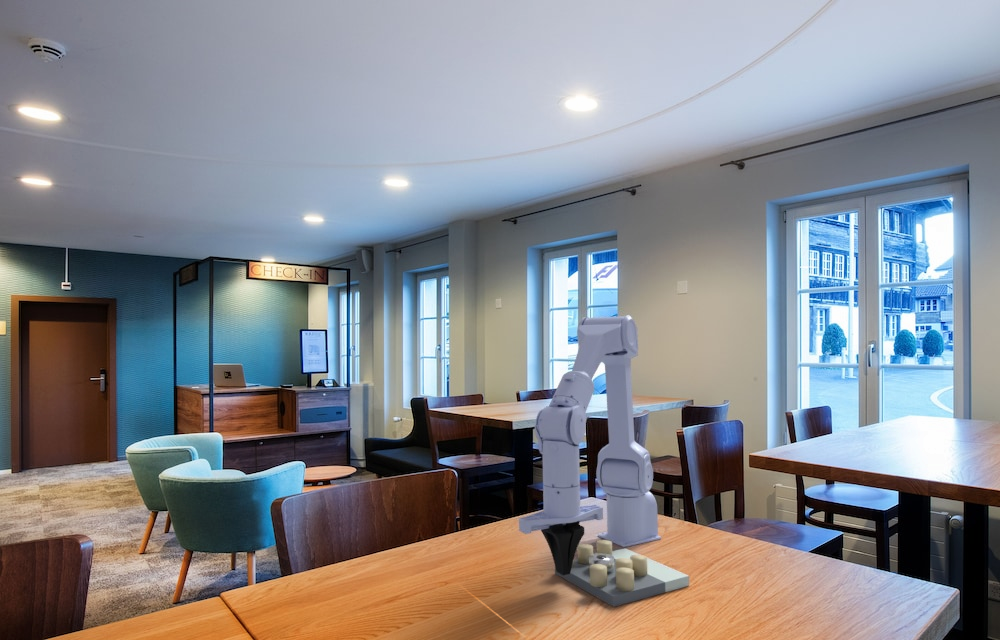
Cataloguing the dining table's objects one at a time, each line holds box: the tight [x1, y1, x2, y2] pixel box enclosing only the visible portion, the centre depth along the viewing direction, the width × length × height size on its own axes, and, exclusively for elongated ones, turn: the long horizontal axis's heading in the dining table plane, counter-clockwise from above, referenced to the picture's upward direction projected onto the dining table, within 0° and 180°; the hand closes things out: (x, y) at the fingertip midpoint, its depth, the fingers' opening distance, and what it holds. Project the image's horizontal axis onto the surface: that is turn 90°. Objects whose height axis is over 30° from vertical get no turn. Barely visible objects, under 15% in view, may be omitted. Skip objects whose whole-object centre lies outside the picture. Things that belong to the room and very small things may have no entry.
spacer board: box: [554, 539, 690, 608], centre depth 98 cm, size 15×15×4 cm
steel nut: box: [589, 552, 614, 574], centre depth 98 cm, size 4×4×2 cm
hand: (563, 572), depth 94 cm, fingers closed
